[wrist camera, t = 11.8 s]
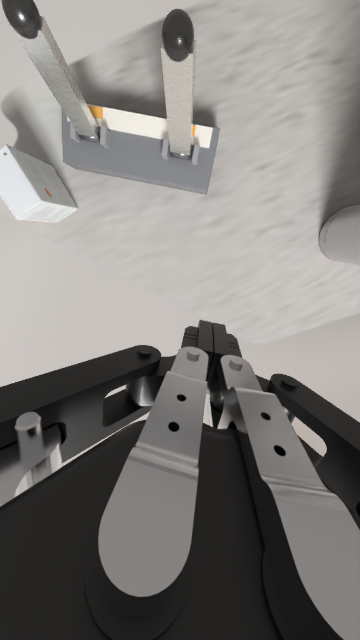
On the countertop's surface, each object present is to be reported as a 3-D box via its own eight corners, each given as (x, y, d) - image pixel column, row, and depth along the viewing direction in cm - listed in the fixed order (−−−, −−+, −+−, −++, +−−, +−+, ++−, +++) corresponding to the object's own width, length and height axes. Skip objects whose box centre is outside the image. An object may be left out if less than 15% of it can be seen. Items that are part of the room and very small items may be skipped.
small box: (31, 182, 40) (-23, 165, 30) (53, 165, 39) (4, 141, 29) (57, 224, 42) (15, 220, 33) (79, 209, 41) (42, 201, 31)
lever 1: (103, 131, 33) (29, -26, 17) (100, 150, 33) (24, 11, 18) (84, 127, 33) (-7, -32, 17) (81, 146, 33) (-11, 5, 18)
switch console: (217, 139, 35) (220, 122, 30) (206, 194, 38) (207, 187, 33) (76, 112, 36) (53, 90, 30) (76, 169, 39) (56, 158, 33)
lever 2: (192, 148, 33) (199, 0, 17) (188, 167, 33) (192, 36, 17) (173, 144, 33) (162, -7, 17) (169, 163, 33) (155, 29, 17)
